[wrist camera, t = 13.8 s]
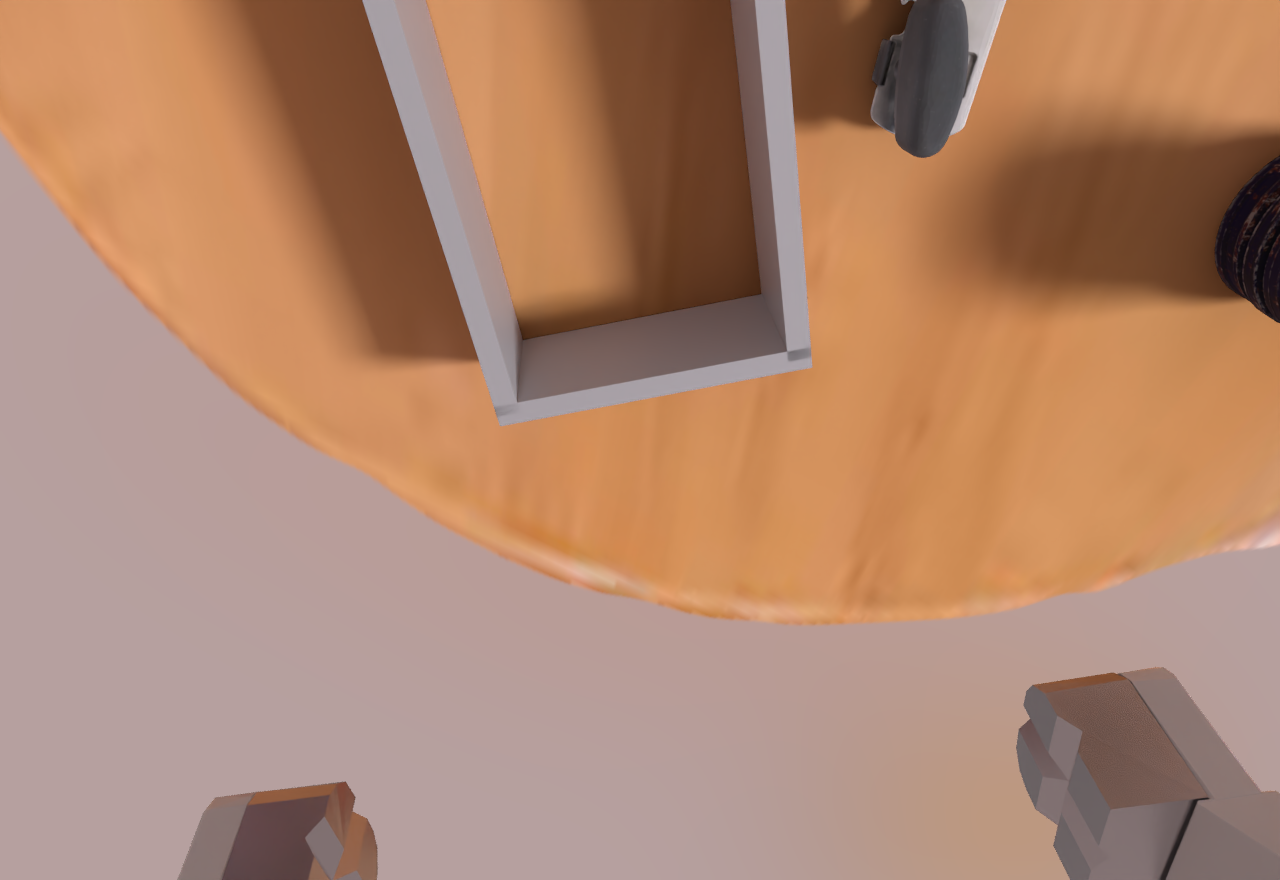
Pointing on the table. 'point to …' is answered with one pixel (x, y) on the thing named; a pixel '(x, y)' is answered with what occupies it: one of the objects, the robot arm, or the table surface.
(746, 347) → the duct
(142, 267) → the table surface
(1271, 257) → the dark blue barrel
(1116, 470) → the table surface
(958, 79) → the can opener
